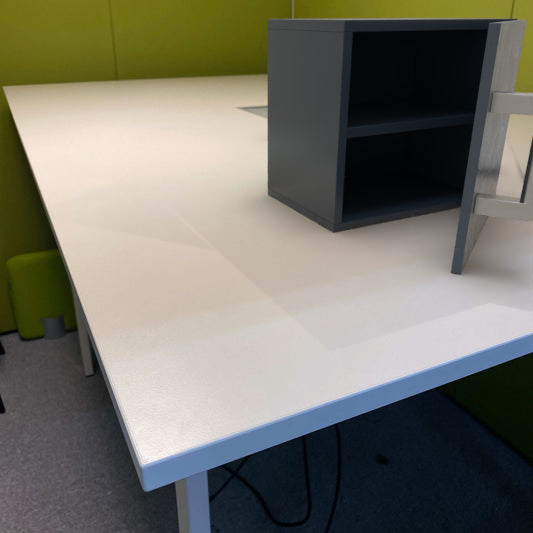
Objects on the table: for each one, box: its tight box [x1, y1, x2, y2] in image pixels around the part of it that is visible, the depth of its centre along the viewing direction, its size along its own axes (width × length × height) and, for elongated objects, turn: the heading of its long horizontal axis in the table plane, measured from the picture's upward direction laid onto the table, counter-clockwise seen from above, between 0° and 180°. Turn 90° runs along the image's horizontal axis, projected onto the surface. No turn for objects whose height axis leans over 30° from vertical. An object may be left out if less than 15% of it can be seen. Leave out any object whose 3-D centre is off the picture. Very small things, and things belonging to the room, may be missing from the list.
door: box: [450, 19, 533, 275], centre depth 62 cm, size 7×26×24 cm, turn 152°
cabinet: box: [267, 17, 518, 234], centre depth 76 cm, size 18×26×24 cm
